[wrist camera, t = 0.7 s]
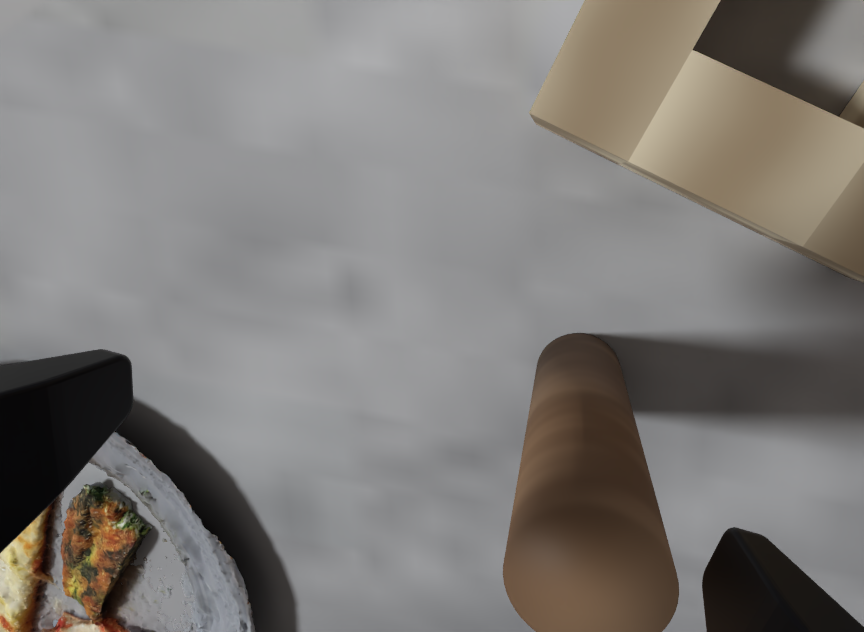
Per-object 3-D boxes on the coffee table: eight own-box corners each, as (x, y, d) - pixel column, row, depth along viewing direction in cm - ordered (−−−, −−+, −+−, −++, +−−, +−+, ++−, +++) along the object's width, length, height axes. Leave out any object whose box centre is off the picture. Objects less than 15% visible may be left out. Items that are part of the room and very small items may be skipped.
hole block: (1142, -106, 14) (1325, -197, 10) (847, 276, 17) (913, 300, 14) (733, -267, 15) (780, -396, 11) (536, 124, 18) (528, 112, 15)
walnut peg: (636, 358, 19) (715, 568, 9) (593, 424, 20) (619, 681, 10) (561, 318, 20) (553, 477, 9) (522, 385, 21) (475, 596, 10)
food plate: (183, 827, 32) (139, 900, 29) (-114, 625, 35) (-186, 670, 32) (327, 509, 25) (289, 558, 22) (-64, 285, 28) (-151, 297, 24)
